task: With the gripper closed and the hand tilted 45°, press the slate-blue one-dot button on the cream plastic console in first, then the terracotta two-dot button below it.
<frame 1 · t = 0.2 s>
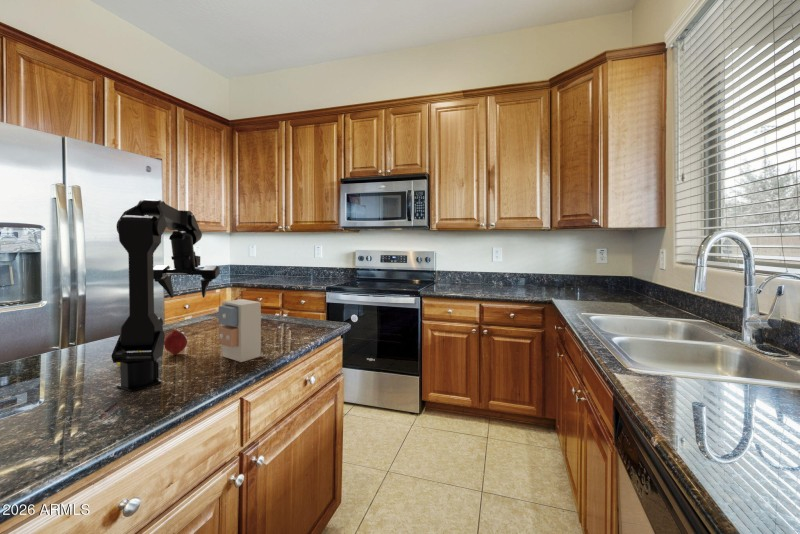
hand: (188, 297, 117), 16 cm above the table, tool pointing down, fingers open, 9 cm apart
watch: (129, 366, 98), on the table
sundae: (235, 336, 131), on the table
onion: (175, 355, 108), on the table
upper button: (228, 315, 104), point 13 cm above the table, slide at 0.0 cm
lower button: (228, 336, 104), point 7 cm above the table, slide at 0.0 cm
console: (243, 355, 109), on the table
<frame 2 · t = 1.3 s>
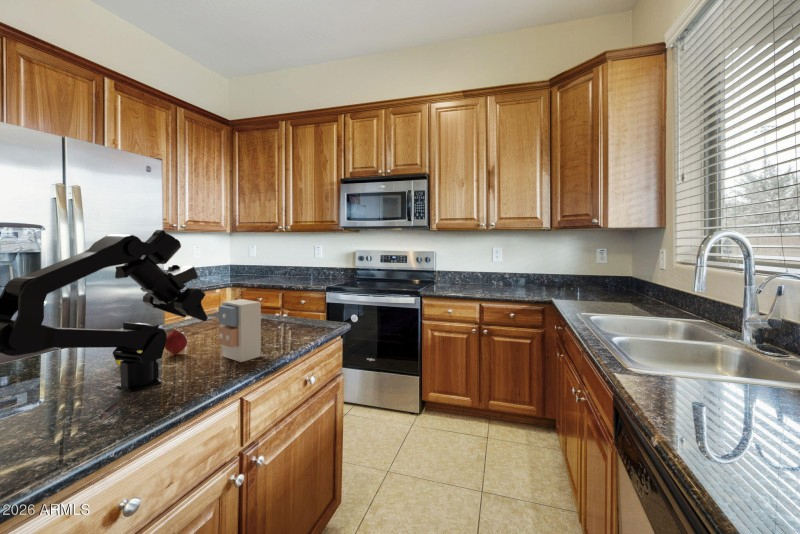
hand: (195, 317, 96), 14 cm above the table, tool tilted 45°, fingers open, 9 cm apart
nothing on the table moved.
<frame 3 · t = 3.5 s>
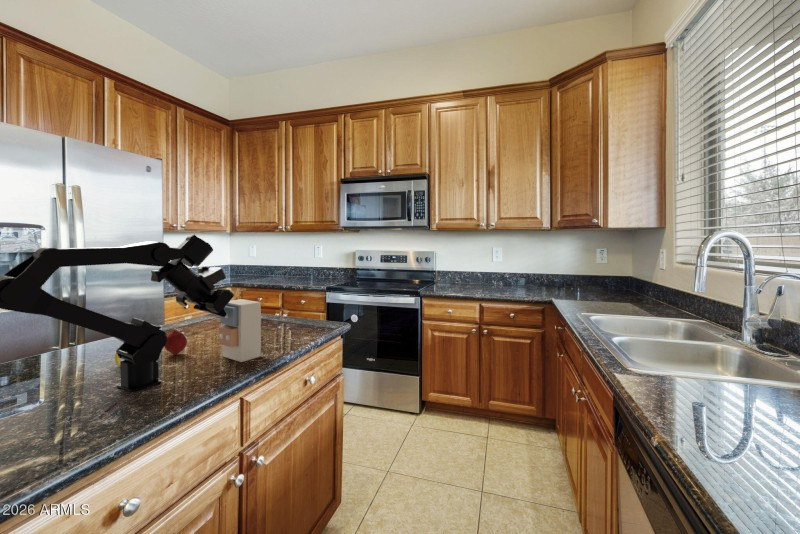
hand: (224, 315, 103), 13 cm above the table, tool tilted 45°, fingers closed, pressing on upper button
upper button: (230, 315, 104), point 13 cm above the table, slide at 0.5 cm, touching gripper
everything else where it was.
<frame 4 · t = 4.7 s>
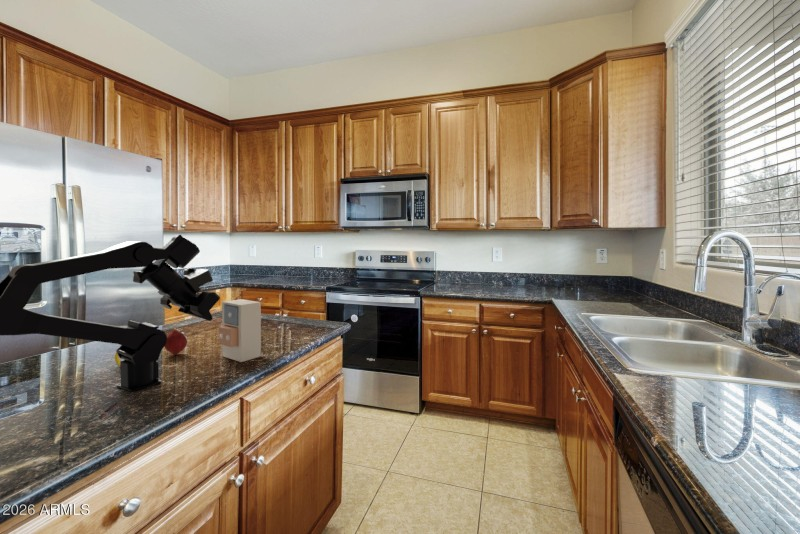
hand: (210, 319, 99), 13 cm above the table, tool tilted 45°, fingers closed
upper button: (234, 314, 105), point 13 cm above the table, slide at 1.8 cm
everything else where it was.
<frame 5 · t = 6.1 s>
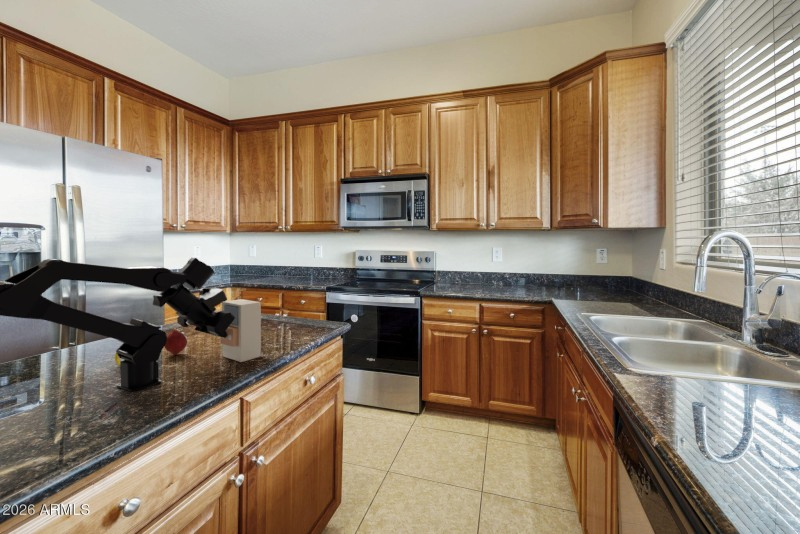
hand: (225, 336, 103), 7 cm above the table, tool tilted 45°, fingers closed, pressing on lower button
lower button: (230, 335, 105), point 7 cm above the table, slide at 0.6 cm, touching gripper
everything else where it was.
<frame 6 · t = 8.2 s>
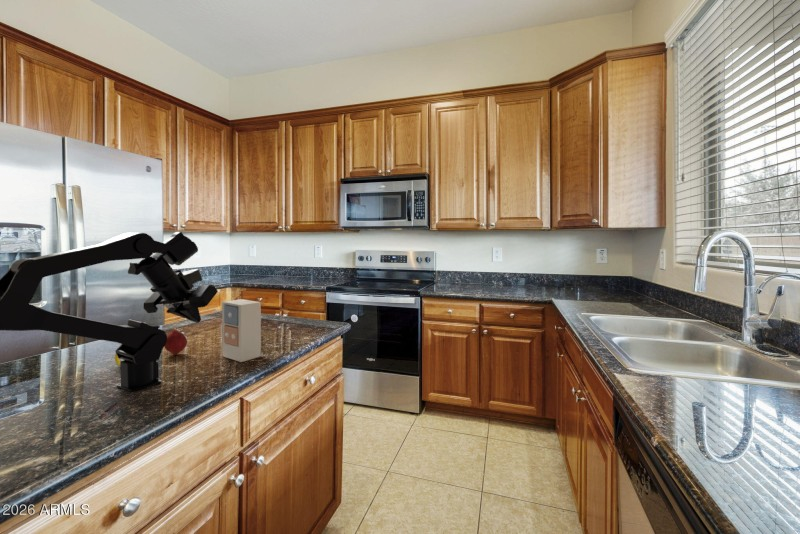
hand: (199, 321, 98), 13 cm above the table, tool tilted 35°, fingers closed
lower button: (234, 334, 106), point 7 cm above the table, slide at 1.8 cm
everything else where it was.
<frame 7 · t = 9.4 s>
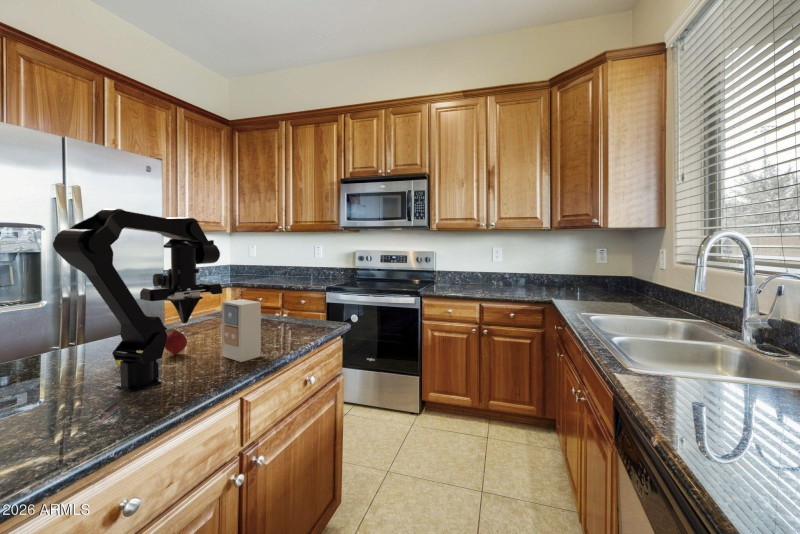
hand: (184, 322, 97), 12 cm above the table, tool pointing down, fingers closed
nothing on the table moved.
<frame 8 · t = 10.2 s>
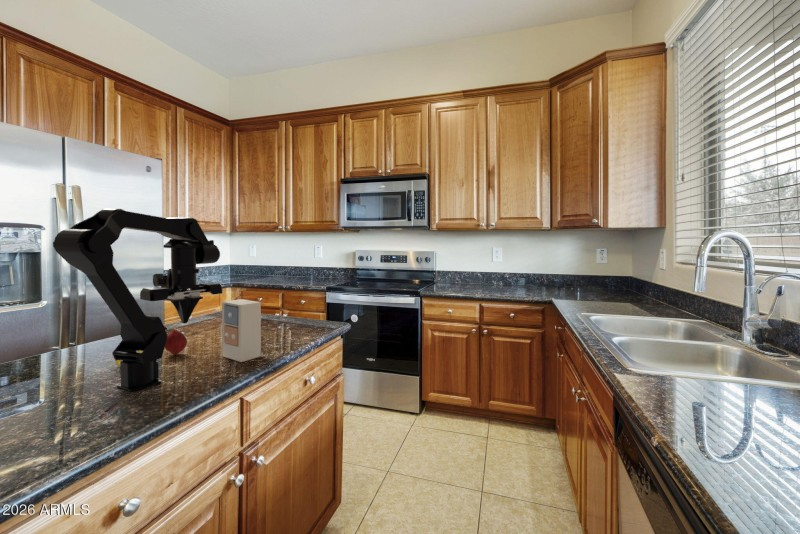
hand: (184, 323, 97), 12 cm above the table, tool pointing down, fingers closed
nothing on the table moved.
at the end: upper button slide at 1.8 cm; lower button slide at 1.8 cm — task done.
